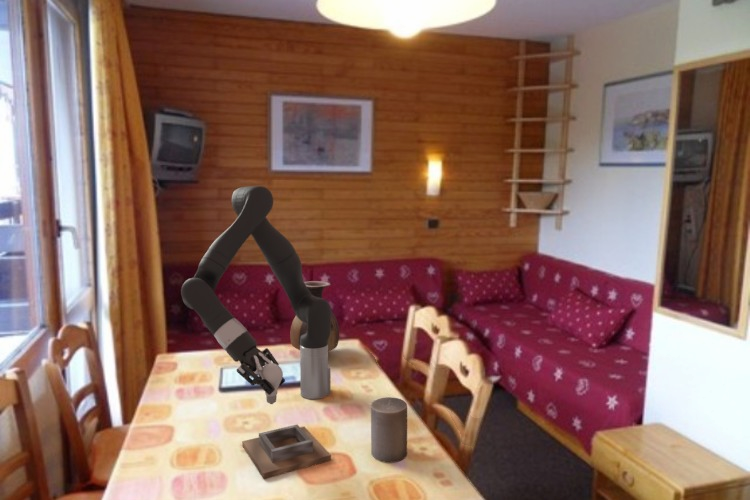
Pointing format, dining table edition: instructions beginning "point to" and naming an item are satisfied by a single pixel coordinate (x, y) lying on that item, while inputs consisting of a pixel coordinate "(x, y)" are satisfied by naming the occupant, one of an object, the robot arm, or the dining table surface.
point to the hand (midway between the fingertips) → (277, 387)
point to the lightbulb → (272, 379)
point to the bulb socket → (285, 451)
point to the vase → (301, 327)
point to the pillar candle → (389, 429)
